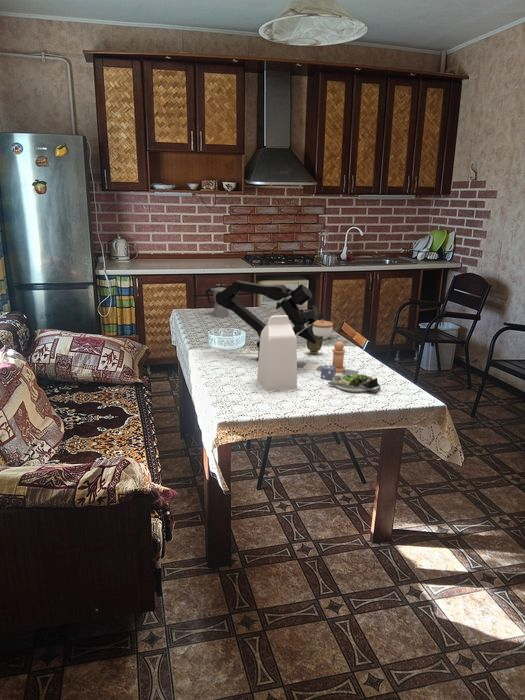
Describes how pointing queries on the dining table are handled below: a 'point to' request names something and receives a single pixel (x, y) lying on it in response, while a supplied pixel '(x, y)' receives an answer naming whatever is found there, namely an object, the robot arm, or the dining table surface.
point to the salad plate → (355, 383)
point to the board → (318, 367)
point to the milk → (277, 355)
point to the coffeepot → (218, 309)
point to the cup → (315, 345)
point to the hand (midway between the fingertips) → (315, 343)
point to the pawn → (338, 357)
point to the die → (328, 372)
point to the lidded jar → (322, 328)
